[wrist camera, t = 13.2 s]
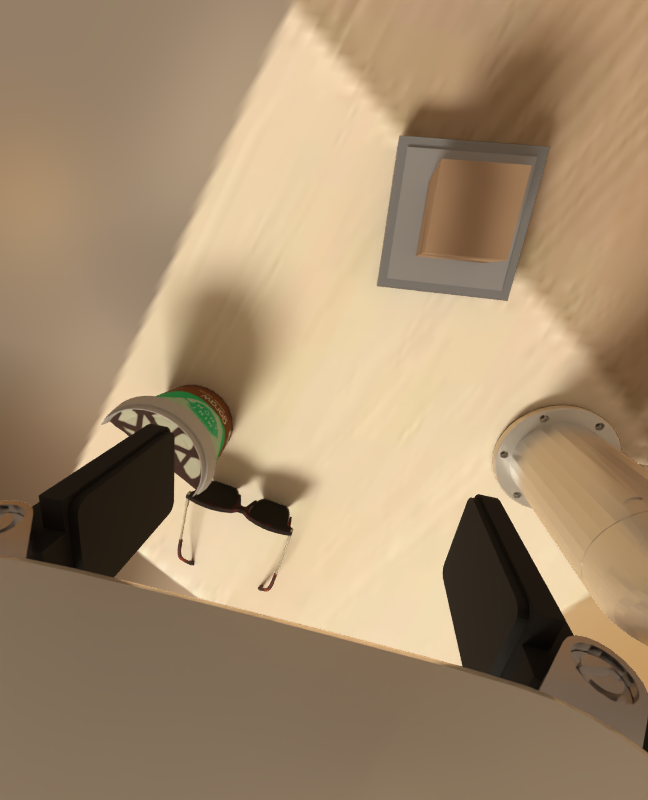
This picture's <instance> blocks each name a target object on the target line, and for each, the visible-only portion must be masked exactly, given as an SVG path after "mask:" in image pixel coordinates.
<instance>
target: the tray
mask: <svg viewBox="0 0 648 800" xmlns="http://www.w3.org/2000/svg"><path fill="white" fill-rule="evenodd" d="M549 148H550V147H548V146H535V145H521V144H508V143H494V142H480V141H467V140H453V139H440V138H426V137H413V136H399V141H398V147H397V153H396V160H395V167H394V174H393V180H392V187H391V194H390V201H389V207H388V214H387V221H386V228H385V234H384V241H383V248H382V255H381V261H380V268H379V275H378V281H377V286H381V287H390V288H398V289H407V290H416V291H425V292H434V293H443V294H451V295H460V296H469V297H478V298H487V299H496V300H504V301H508V297H509V293H510V290H511V286H512V282H513V279H514V275H515V272H516V268H517V264H518V261H519V257H520V253H521V250H522V246H523V243H524V239H525V235H526V232H527V228H528V224H529V221H530V217H531V214H532V210H533V206H534V203H535V199H536V195H537V192H538V188H539V185H540V181H541V177H542V174H543V170H544V166H545V163H546V159H547V156H548V152H549ZM441 159H451V160H465V161H479V162H493V163H507V164H521V165H532V167H531V171H530V175H529V179H528V183H527V186H526V190H525V194H524V198H523V202H522V206H521V210H520V213H519V217H518V221H517V225H516V229H515V233H514V237H513V240H512V244H511V248H510V252H509V256H508V260H507V261H498V262H489V263H478V262H468V261H458V260H447V259H437V258H427V257H417V256H416V252H417V246H418V241H419V235H420V229H421V224H422V218H423V212H424V206H425V201H426V195H427V189H428V183H429V180H430V178H431V176H432V174H433V173H434V171H435V169H436V167H437V166H438V164H439V162H440V161H441Z"/></svg>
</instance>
